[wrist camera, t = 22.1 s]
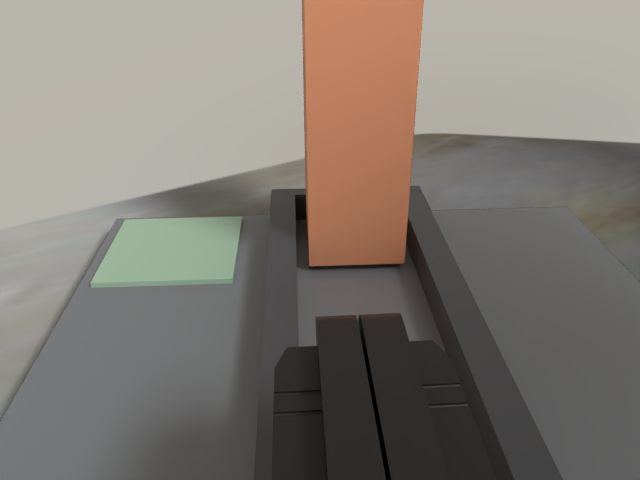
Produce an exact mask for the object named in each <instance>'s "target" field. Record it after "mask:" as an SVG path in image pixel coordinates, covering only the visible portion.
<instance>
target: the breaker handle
mask: <svg viewBox="0 0 640 480" xmlns="http://www.w3.org/2000/svg"><path fill="white" fill-rule="evenodd" d="M423 1H424V0H302V21H303V22H302V26H303V27H302V28H303V76H304V126H305V127H304V128H305V179H306V221H307V238H308V255H309V266H337V265H370V264H403V263H404V262H405V249H406V235H407V221H408V208H409V194H410V180H411V167H412V153H413V139H414V125H415V112H416V98H417V84H418V70H419V56H420V43H421V30H422V16H423Z"/></svg>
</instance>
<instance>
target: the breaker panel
mask: <svg viewBox="0 0 640 480" xmlns="http://www.w3.org/2000/svg"><path fill="white" fill-rule="evenodd" d="M384 313H401V315H402V318H403V321H404V325H405V328H406V332H407V335H408V338H409V341H425V340H433V341H434V342H435V343H436V344H437V345H438V346H439V347H440V348H441V349H442V350H443V351H444V352H445V353H446V354H447V355H448V356H449V357H450V358H451V359H452V361H453V364H454V367H455V369H456V372H457V374H458V377H459V380H460V382H461V383H460V384H461V387H462V388H463V390H464V393H465V396H466V398H467V401H468V407H470V409H471V412H472V414H473V417H474V420H475V422H476V425H477V428H478V430H479V433H480V436H481V438H482V441H483V444H484V446H485V449H486V452H487V454H488V457H489V460H490V462H491V465H492V468H493V470H494V473H495V476H496V478H497V480H640V281H639V280H638V279H637V278H636V277H635V276H634V275H633V274H632V273H631V272H630V271H629V270H628V269H627V268H626V267H625V266H624V265H623V264H622V263H621V262H620V261H619V260H618V259H617V258H616V257H615V256H614V255H613V254H612V253H611V252H610V251H609V249H608V248H607V247H606V246H605V245H604V244H603V243H602V242H601V241H600V240H599V239H598V238H597V237H596V236H595V235H594V234H593V233H592V232H591V231H590V230H589V229H588V228H587V227H586V226H585V225H584V224H583V223H582V222H581V221H580V220H579V219H578V218H577V217H576V216H575V214H574V213H573V212H572V211H571V210H570V209H569V208H568V207H540V208H503V209H465V210H431V209H430V207H429V205H428V203H427V201H426V199H425V197H424V195H423V193H422V191H421V189H420V187H419V186H410V194H409V208H408V221H407V235H406V249H405V262H404V263H403V264H370V265H337V266H309V255H308V238H307V221H306V189H277V190H272V193H271V209H270V215H240V216H203V217H165V218H128V219H116V221H115V223H114V225H113V226H112V228H111V230H110V232H109V233H108V235H107V237H106V239H105V240H104V242H103V244H102V246H101V247H100V249H99V251H98V253H97V254H96V256H95V258H94V260H93V261H92V263H91V265H90V267H89V268H88V270H87V272H86V273H85V275H84V277H83V279H82V280H81V282H80V284H79V286H78V287H77V289H76V291H75V293H74V294H73V296H72V298H71V300H70V301H69V303H68V305H67V307H66V308H65V310H64V312H63V314H62V315H61V317H60V319H59V320H58V322H57V324H56V326H55V327H54V329H53V331H52V333H51V334H50V336H49V338H48V340H47V341H46V343H45V345H44V347H43V348H42V350H41V352H40V354H39V355H38V357H37V359H36V361H35V362H34V364H33V366H32V367H31V369H30V371H29V373H28V374H27V376H26V378H25V380H24V381H23V383H22V385H21V387H20V388H19V390H18V392H17V394H16V395H15V397H14V399H13V401H12V402H11V404H10V406H9V408H8V409H7V411H6V413H5V414H4V416H3V418H2V420H1V421H0V480H272V440H273V401H274V368H275V366H276V365H277V363H278V361H279V360H280V358H281V356H282V355H283V353H284V351H285V350H286V348H287V347H302V346H316V317H319V316H340V315H356V316H357V320H358V317H359V315H364V314H384Z"/></svg>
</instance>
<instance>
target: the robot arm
mask: <svg viewBox="0 0 640 480" xmlns="http://www.w3.org/2000/svg"><path fill="white" fill-rule="evenodd" d="M460 383H461V382H460V380H459V377H458V374H457V372H456V369H455V367H454V364H453V361H452V359H451V358H450V357H449V356H448V355H447V354H446V353H445V352H444V351H443V350H442V349H441V348H440V347H439V346H438V345H437V344H436V343H435V342H434V341H433V340H425V341H409V338H408V335H407V332H406V328H405V325H404V321H403V318H402V315H401V313H384V314H364V315H359V317H358V320H357V316H356V315H340V316H319V317H316V346H302V347H287V348H286V350H285V351H284V353H283V355H282V356H281V358H280V360H279V361H278V363H277V365H276V366H275V368H274V401H273V440H272V480H497V478H496V476H495V473H494V470H493V468H492V465H491V462H490V460H489V457H488V454H487V452H486V449H485V446H484V444H483V441H482V438H481V436H480V433H479V430H478V428H477V425H476V422H475V420H474V417H473V414H472V412H471V409H470V407H468V401H467V398H466V396H465V393H464V390H463V388H462V387H461V384H460Z"/></svg>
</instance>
